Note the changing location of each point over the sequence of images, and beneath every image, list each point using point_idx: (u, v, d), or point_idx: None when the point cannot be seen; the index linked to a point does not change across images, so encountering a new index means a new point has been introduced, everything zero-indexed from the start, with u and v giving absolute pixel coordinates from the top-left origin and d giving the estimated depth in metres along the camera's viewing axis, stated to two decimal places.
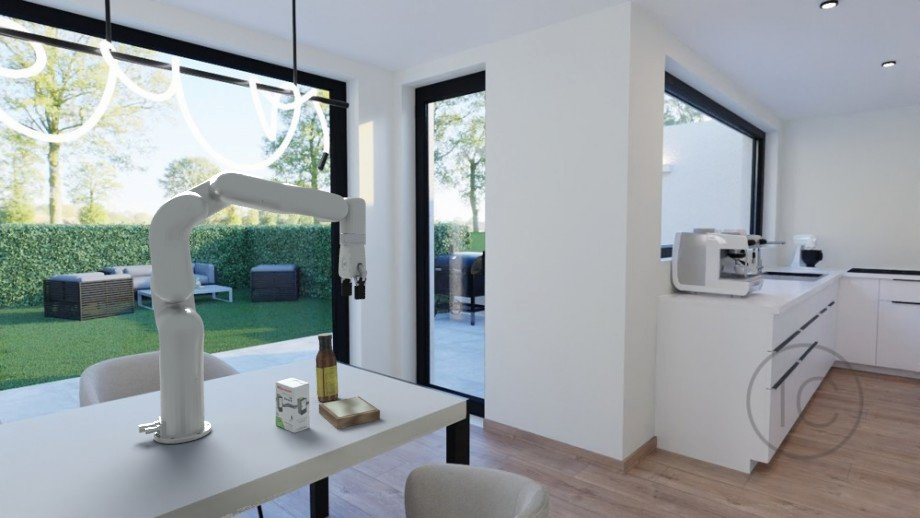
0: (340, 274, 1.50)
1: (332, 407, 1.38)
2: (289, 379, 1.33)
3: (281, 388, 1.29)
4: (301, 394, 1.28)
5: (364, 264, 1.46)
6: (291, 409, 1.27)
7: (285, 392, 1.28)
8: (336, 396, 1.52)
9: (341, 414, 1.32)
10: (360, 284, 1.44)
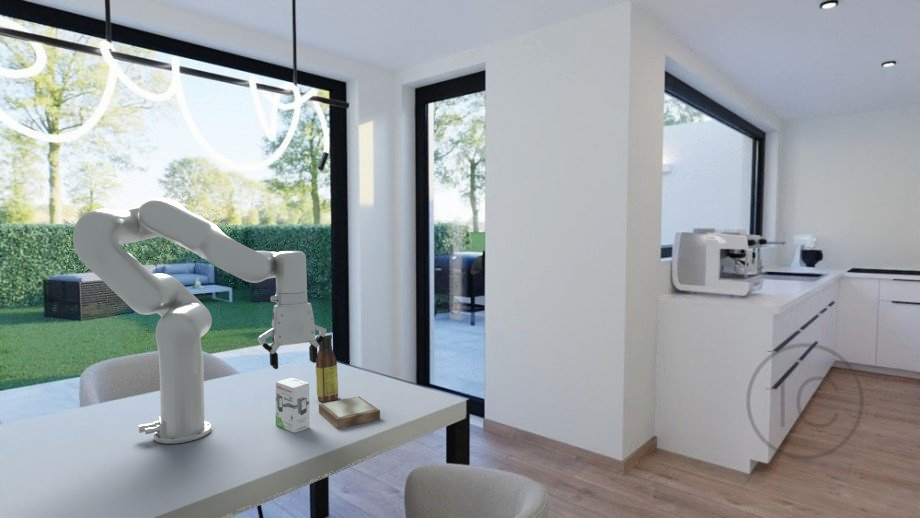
0: (285, 342, 1.26)
1: (332, 407, 1.38)
2: (289, 379, 1.33)
3: (281, 388, 1.29)
4: (301, 394, 1.28)
5: None
6: (291, 409, 1.27)
7: (285, 392, 1.28)
8: (336, 396, 1.52)
9: (341, 414, 1.32)
10: None
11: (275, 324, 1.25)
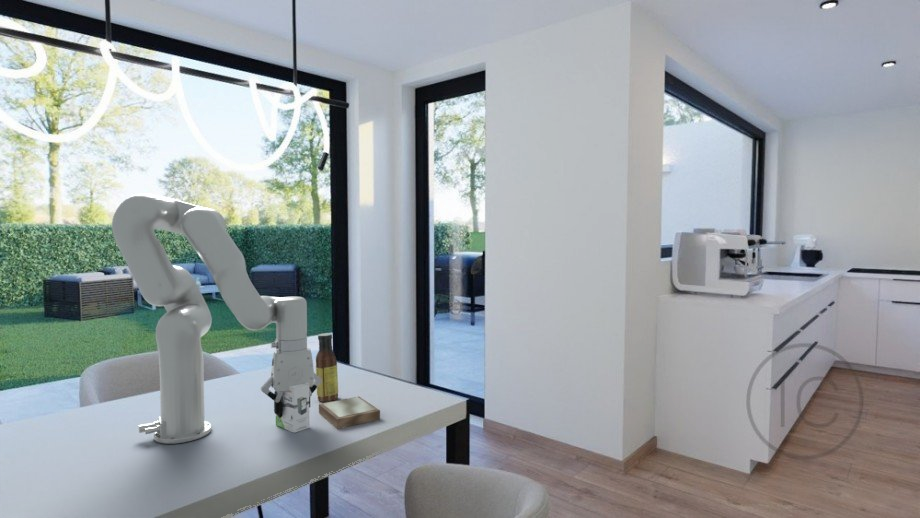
0: (284, 388, 1.26)
1: (332, 407, 1.38)
2: None
3: None
4: (301, 394, 1.28)
5: None
6: (291, 409, 1.27)
7: (285, 392, 1.28)
8: (336, 396, 1.52)
9: (341, 414, 1.32)
10: None
11: (274, 371, 1.26)
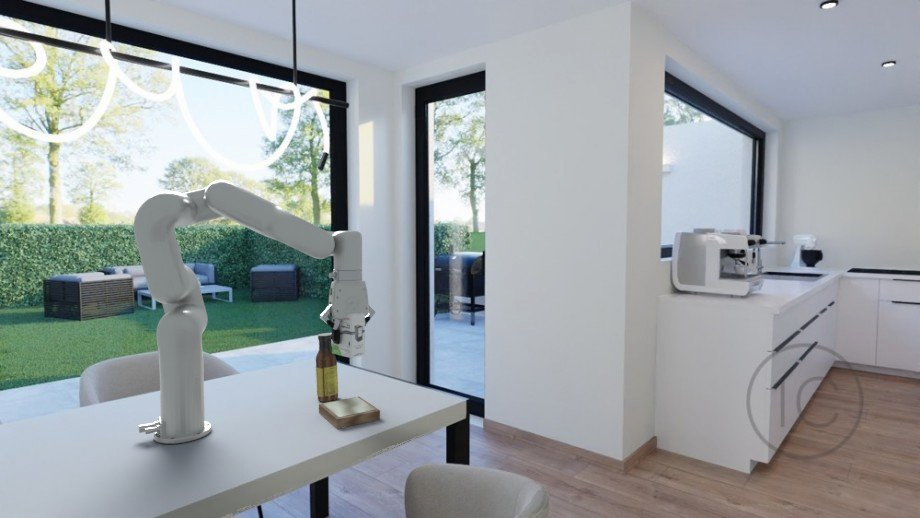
0: (342, 316, 1.33)
1: (332, 407, 1.38)
2: None
3: None
4: (358, 322, 1.34)
5: None
6: (349, 336, 1.33)
7: (342, 320, 1.35)
8: (336, 396, 1.52)
9: (341, 414, 1.32)
10: None
11: (333, 299, 1.33)
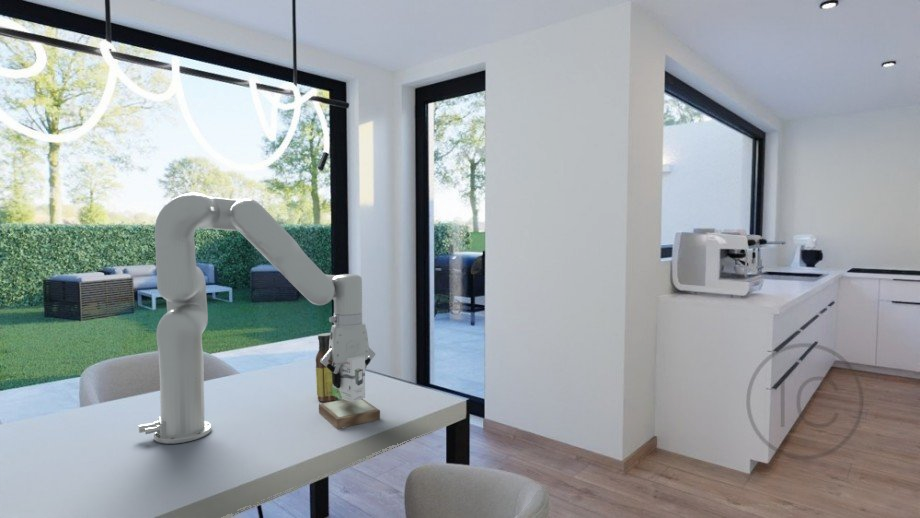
0: (342, 360, 1.34)
1: (332, 407, 1.38)
2: None
3: None
4: (358, 366, 1.35)
5: None
6: (349, 380, 1.34)
7: (343, 364, 1.36)
8: None
9: (341, 414, 1.32)
10: None
11: (333, 343, 1.33)
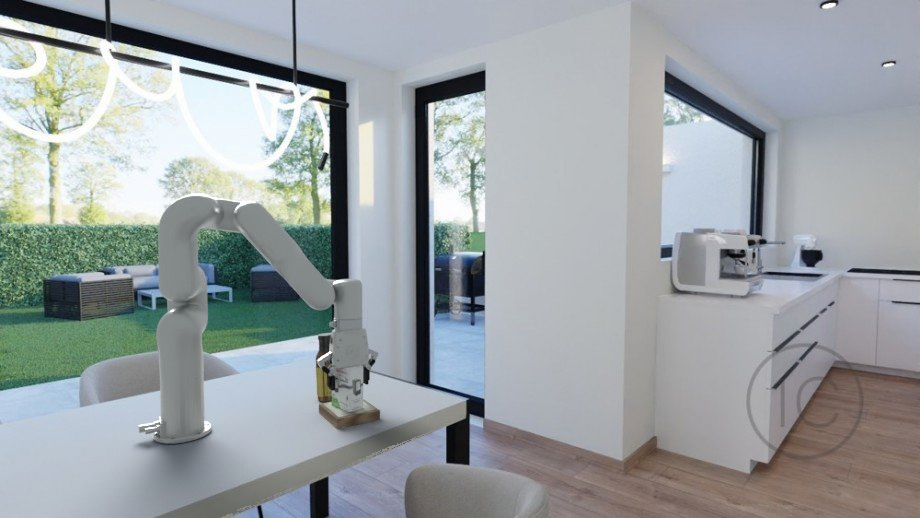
0: (342, 365, 1.34)
1: (332, 407, 1.38)
2: None
3: (337, 370, 1.37)
4: (356, 376, 1.35)
5: None
6: (347, 390, 1.34)
7: (341, 374, 1.36)
8: None
9: (341, 414, 1.32)
10: None
11: (334, 348, 1.33)
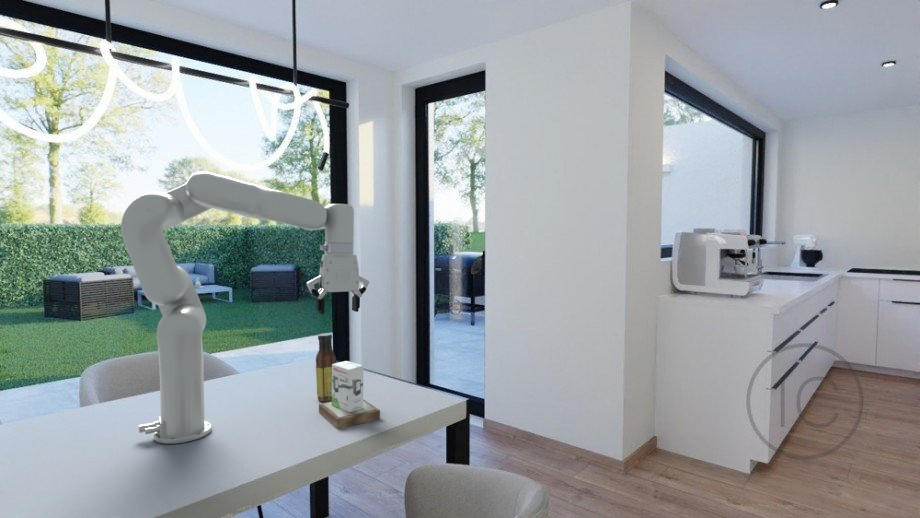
0: (332, 288, 1.33)
1: (332, 407, 1.38)
2: (344, 362, 1.40)
3: (337, 370, 1.37)
4: (356, 376, 1.35)
5: None
6: (347, 390, 1.34)
7: (341, 374, 1.36)
8: None
9: (341, 414, 1.32)
10: None
11: (323, 271, 1.33)
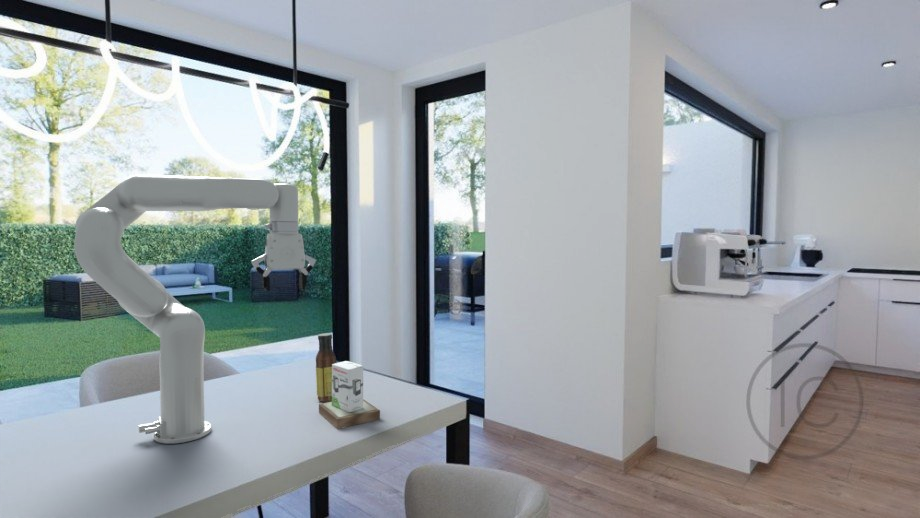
0: (276, 266, 1.37)
1: (332, 407, 1.38)
2: (344, 362, 1.40)
3: (337, 370, 1.37)
4: (356, 376, 1.35)
5: None
6: (347, 390, 1.34)
7: (341, 374, 1.36)
8: None
9: (341, 414, 1.32)
10: None
11: (268, 249, 1.36)
